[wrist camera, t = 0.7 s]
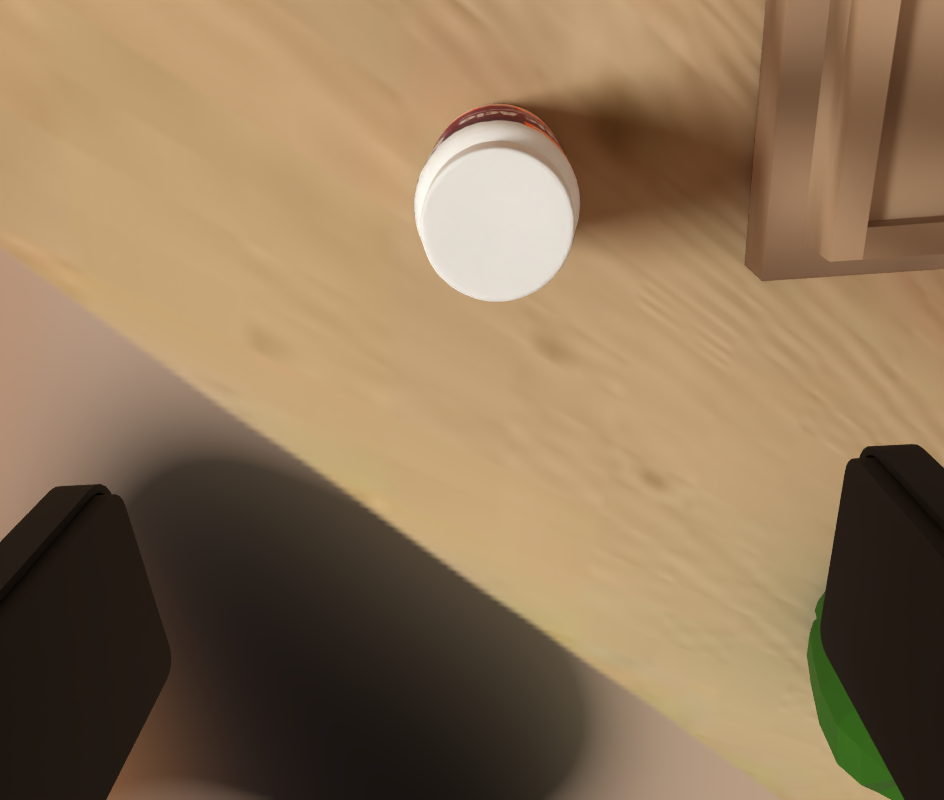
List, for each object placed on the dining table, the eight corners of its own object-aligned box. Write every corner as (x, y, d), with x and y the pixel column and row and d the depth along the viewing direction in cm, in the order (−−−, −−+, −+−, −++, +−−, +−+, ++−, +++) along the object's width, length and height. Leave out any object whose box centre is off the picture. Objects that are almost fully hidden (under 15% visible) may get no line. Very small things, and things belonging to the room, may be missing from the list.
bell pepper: (739, 625, 36) (822, 824, 27) (873, 506, 33) (1017, 686, 24) (864, 701, 38) (980, 910, 29) (1001, 596, 35) (1179, 793, 26)
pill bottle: (581, 124, 26) (618, 163, 19) (538, 254, 28) (556, 336, 21) (448, 83, 26) (432, 106, 18) (414, 218, 28) (386, 289, 20)
